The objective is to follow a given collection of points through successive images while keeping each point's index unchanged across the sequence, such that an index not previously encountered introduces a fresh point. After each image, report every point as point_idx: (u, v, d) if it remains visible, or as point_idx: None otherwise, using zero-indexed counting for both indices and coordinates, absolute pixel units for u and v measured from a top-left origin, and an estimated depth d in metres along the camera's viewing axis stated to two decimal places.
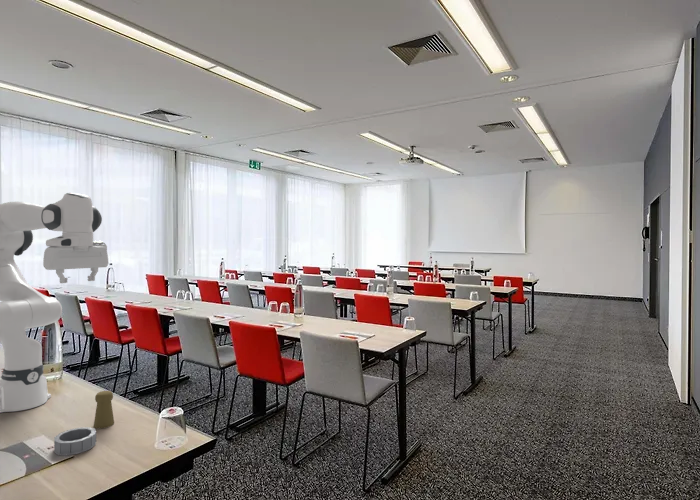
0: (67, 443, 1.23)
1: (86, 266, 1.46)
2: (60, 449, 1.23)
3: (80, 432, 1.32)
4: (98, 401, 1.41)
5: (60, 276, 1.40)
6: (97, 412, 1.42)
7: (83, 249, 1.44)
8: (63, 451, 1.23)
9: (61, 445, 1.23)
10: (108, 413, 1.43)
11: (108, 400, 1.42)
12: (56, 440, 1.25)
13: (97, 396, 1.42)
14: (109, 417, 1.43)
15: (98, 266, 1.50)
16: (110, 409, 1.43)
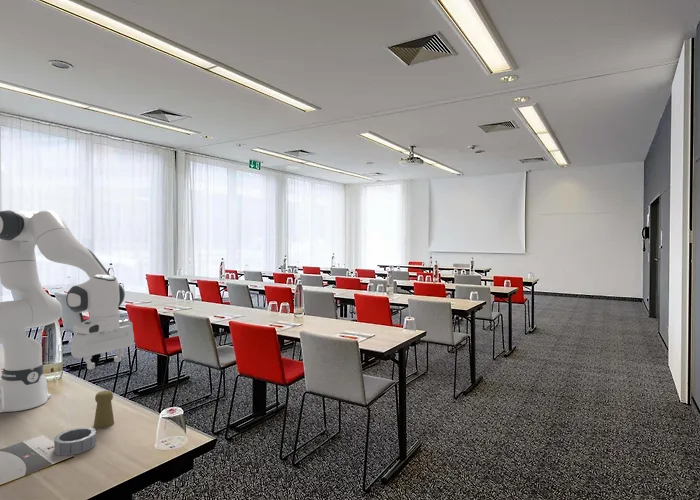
0: (67, 443, 1.23)
1: (113, 348, 1.44)
2: (60, 449, 1.23)
3: (80, 432, 1.32)
4: (98, 401, 1.41)
5: (88, 362, 1.38)
6: (97, 412, 1.42)
7: (110, 332, 1.42)
8: (63, 451, 1.23)
9: (61, 445, 1.23)
10: (108, 413, 1.43)
11: (108, 400, 1.42)
12: (56, 440, 1.25)
13: (97, 396, 1.42)
14: (109, 417, 1.43)
15: (124, 346, 1.48)
16: (110, 409, 1.43)
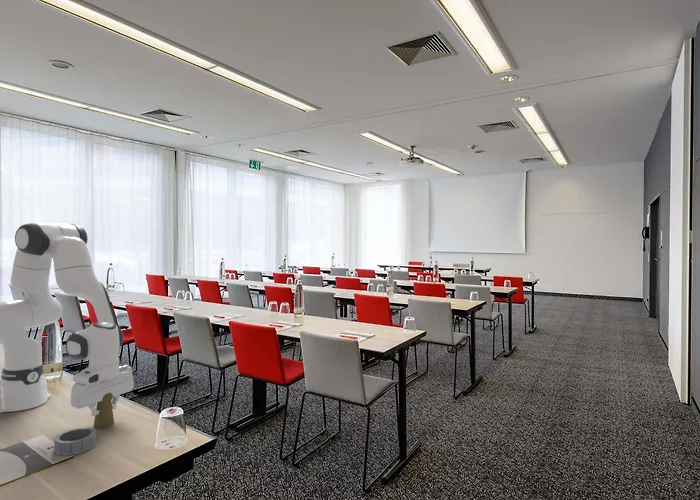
0: (67, 443, 1.23)
1: None
2: (60, 449, 1.23)
3: (80, 432, 1.32)
4: None
5: (92, 409, 1.40)
6: None
7: (110, 380, 1.42)
8: (63, 451, 1.23)
9: (61, 445, 1.23)
10: (108, 412, 1.43)
11: (108, 400, 1.42)
12: (56, 440, 1.25)
13: None
14: (109, 417, 1.43)
15: (124, 392, 1.48)
16: (110, 409, 1.43)
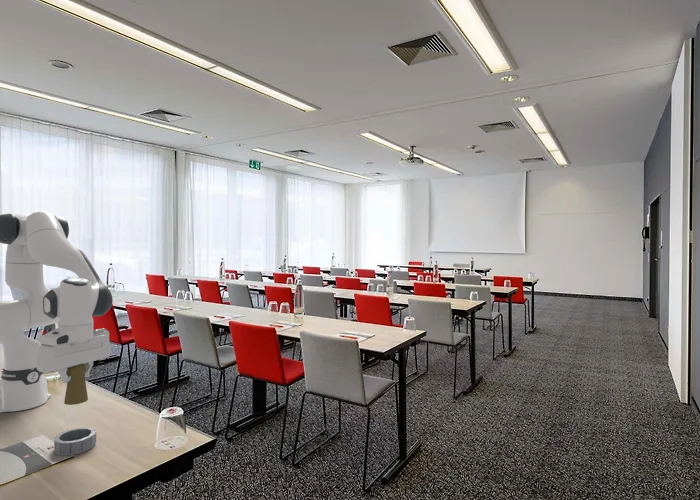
0: (67, 443, 1.23)
1: (85, 361, 1.29)
2: (60, 449, 1.23)
3: (80, 432, 1.32)
4: (68, 374, 1.25)
5: (62, 375, 1.24)
6: (68, 386, 1.26)
7: (82, 343, 1.26)
8: (63, 451, 1.23)
9: (61, 445, 1.23)
10: (80, 387, 1.27)
11: (80, 373, 1.26)
12: (56, 440, 1.25)
13: (68, 368, 1.26)
14: (81, 393, 1.27)
15: (99, 358, 1.33)
16: (83, 384, 1.27)
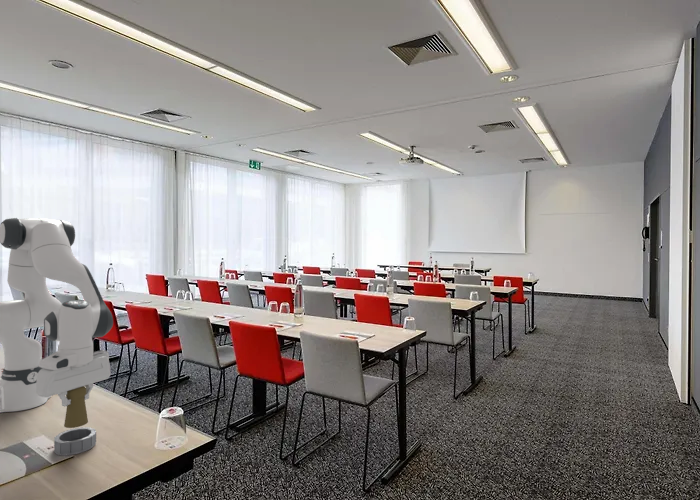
0: (67, 443, 1.23)
1: (85, 383, 1.29)
2: (60, 449, 1.23)
3: (80, 432, 1.32)
4: (68, 397, 1.25)
5: (62, 399, 1.24)
6: (67, 409, 1.26)
7: (82, 366, 1.26)
8: (63, 451, 1.23)
9: (61, 445, 1.23)
10: (80, 410, 1.27)
11: (80, 396, 1.26)
12: (56, 440, 1.25)
13: (67, 391, 1.26)
14: (81, 416, 1.27)
15: (99, 380, 1.33)
16: (82, 406, 1.27)
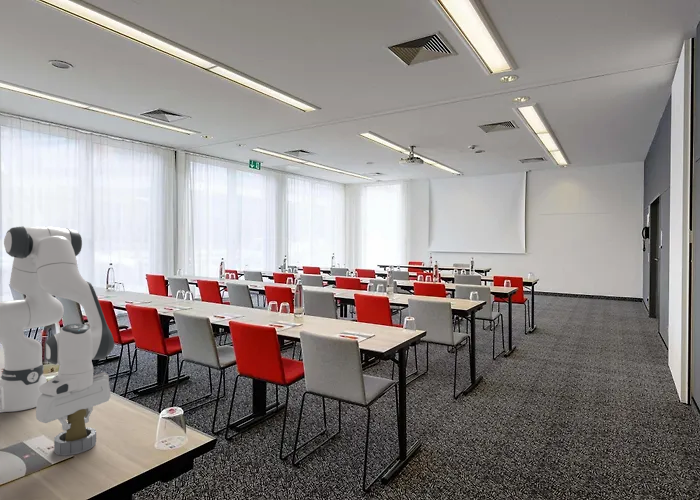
0: (67, 443, 1.23)
1: (85, 407, 1.29)
2: (60, 449, 1.23)
3: None
4: (68, 419, 1.26)
5: (63, 423, 1.24)
6: (67, 431, 1.26)
7: (82, 391, 1.26)
8: (63, 451, 1.23)
9: (61, 445, 1.23)
10: (80, 432, 1.27)
11: (80, 418, 1.27)
12: (56, 440, 1.25)
13: None
14: (80, 437, 1.27)
15: (99, 403, 1.33)
16: (82, 428, 1.28)
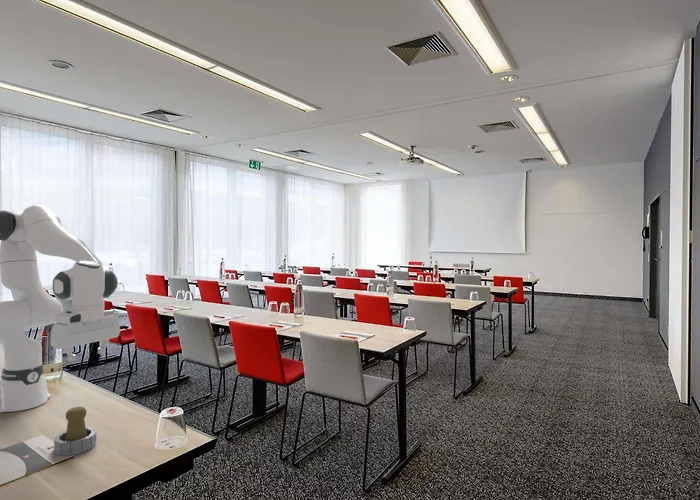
0: (67, 443, 1.23)
1: (96, 339, 1.36)
2: (60, 449, 1.23)
3: None
4: (68, 419, 1.26)
5: (68, 354, 1.30)
6: (67, 431, 1.26)
7: (93, 323, 1.33)
8: (63, 451, 1.23)
9: (61, 445, 1.23)
10: (80, 432, 1.27)
11: (80, 418, 1.27)
12: (56, 440, 1.25)
13: (67, 413, 1.26)
14: (80, 437, 1.27)
15: (109, 337, 1.40)
16: (82, 428, 1.28)
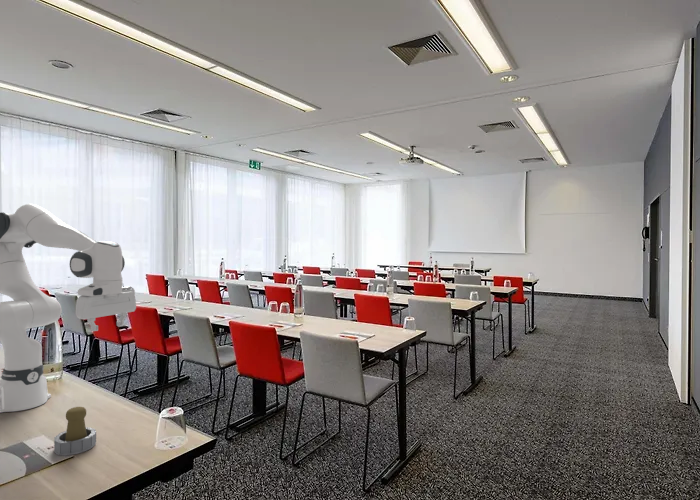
0: (67, 443, 1.23)
1: (116, 312, 1.49)
2: (60, 449, 1.23)
3: None
4: (68, 419, 1.26)
5: (91, 324, 1.43)
6: (67, 431, 1.26)
7: (113, 296, 1.47)
8: (63, 451, 1.23)
9: (61, 445, 1.23)
10: (80, 432, 1.27)
11: (80, 418, 1.27)
12: (56, 440, 1.25)
13: (67, 413, 1.26)
14: (80, 437, 1.27)
15: (127, 311, 1.53)
16: (82, 428, 1.28)
